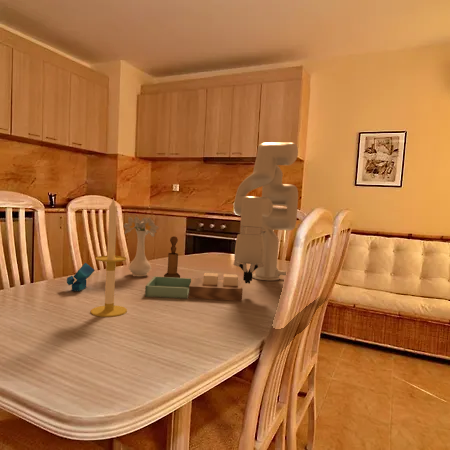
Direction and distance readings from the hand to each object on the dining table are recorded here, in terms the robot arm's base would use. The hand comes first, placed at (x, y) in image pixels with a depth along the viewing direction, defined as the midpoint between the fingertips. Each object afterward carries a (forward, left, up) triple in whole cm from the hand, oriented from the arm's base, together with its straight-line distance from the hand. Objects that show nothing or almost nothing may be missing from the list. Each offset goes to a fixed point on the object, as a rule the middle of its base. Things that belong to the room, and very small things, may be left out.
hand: (247, 282), depth 131 cm
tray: (+28, 0, -5) cm, 28 cm away
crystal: (+58, +3, -5) cm, 58 cm away
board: (+11, 0, -5) cm, 12 cm away
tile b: (+13, 0, -1) cm, 13 cm away
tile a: (+6, 0, -1) cm, 6 cm away
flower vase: (+44, -26, -5) cm, 51 cm away
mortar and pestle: (+29, -18, -5) cm, 35 cm away
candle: (+41, +26, -5) cm, 49 cm away
